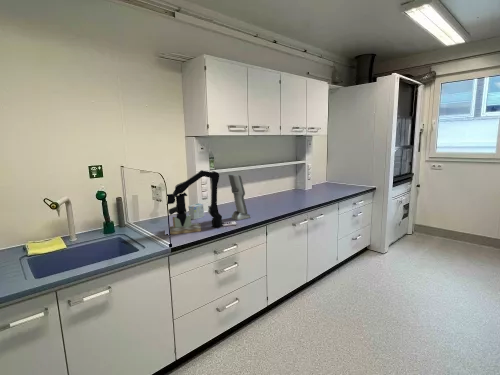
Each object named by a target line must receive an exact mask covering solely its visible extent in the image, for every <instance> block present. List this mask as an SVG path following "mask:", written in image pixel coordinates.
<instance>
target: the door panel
mask: <svg viewBox="0 0 500 375" xmlns="http://www.w3.org/2000/svg"><path fill="white" fill-rule="evenodd" d="M186 216H187V217H186V220H185V223H184V226H182V225H181V222H180V220H179V219H178V218H177V216H173V217H172V224H173V225H172V226H173V227H174V228H179V227H188V226H192V225H191V224H192V219H191V215H189V214H188V215H186Z"/></svg>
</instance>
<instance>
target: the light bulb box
mask: <svg viewBox="0 0 500 375" xmlns="http://www.w3.org/2000/svg"><path fill="white" fill-rule="evenodd" d="M187 208H188V216H189V215H191V220H198V219H200V218H201V219H202V218H204V217H205V211H204V210H205V209H204V204H203V203H194V204H191V205H188V206H187Z"/></svg>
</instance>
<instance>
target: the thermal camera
mask: <svg viewBox="0 0 500 375" xmlns="http://www.w3.org/2000/svg"><path fill="white" fill-rule="evenodd" d="M228 179H229V183H230V189H231V194H233V199H234V205H235V209H236V210H235V211H234V212H233V214H232V215H231V219H232V220H235V221H241V220H246V219H251V215H250V214H249V213H248V210H247V206H246V202H245V195H246V191H245V188H244V187H245V186H244V184H243V180H242V176H241V175H240V174H228Z"/></svg>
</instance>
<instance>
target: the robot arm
mask: <svg viewBox="0 0 500 375" xmlns="http://www.w3.org/2000/svg"><path fill="white" fill-rule="evenodd" d="M203 177H206V178H208V179H209V180H210V184H211V186H210V188H211V190H210V194H211V195H210V205H208V211H207V212H208V214H209V215H210V217H211V219H212V220H211V227H210V228H215V229H216V228H217V229H219V228H221V227H223V226H224V224H223V215H221V213H219V207H218V183H219V180H220V173H219V172H218V171H215V170H214V171H213V170H211V171H207V170H200V171H199V172H197V173H196V174H193V175H192V176H190V178H188V179H187V180H185V181H183V182H180V183H178V184H176V185H175V187H174V190H173V192H172V193H166V194H167V196H168V204H167V205H173V204H175V203H176V204H175V206H173V207H171V208H169V209H168V210H167V211H168V214H169V215H170V216H171V215H173V214H176V217H177V218H178V219H179V220H180V222H181V225H182V226H184V223H185V220H186V217H187V216H188V215H187V208H186V198H185V197H188V194H187V193H186V192H185V191H186V190H187V189H188V188H189V186H191V185H193V184H194V183H196V182H197V181H199V180H200V179H201V178H203Z"/></svg>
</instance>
